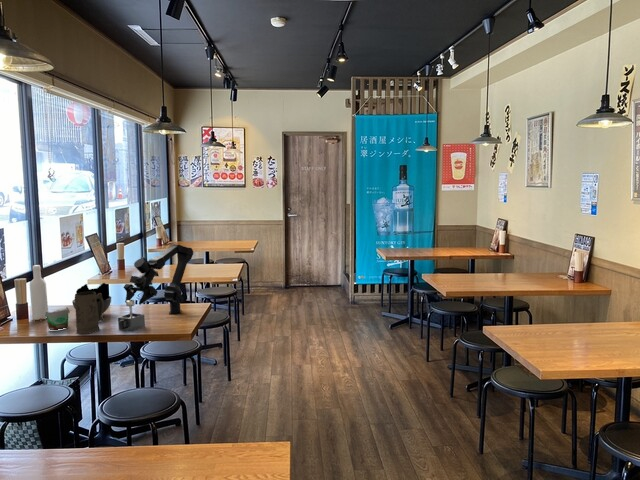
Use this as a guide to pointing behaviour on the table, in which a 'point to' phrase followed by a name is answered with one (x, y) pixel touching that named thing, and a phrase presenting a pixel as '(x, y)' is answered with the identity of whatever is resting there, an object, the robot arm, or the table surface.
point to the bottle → (38, 294)
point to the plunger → (130, 306)
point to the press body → (131, 322)
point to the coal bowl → (100, 289)
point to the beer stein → (88, 312)
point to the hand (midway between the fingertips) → (132, 303)
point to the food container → (57, 319)
